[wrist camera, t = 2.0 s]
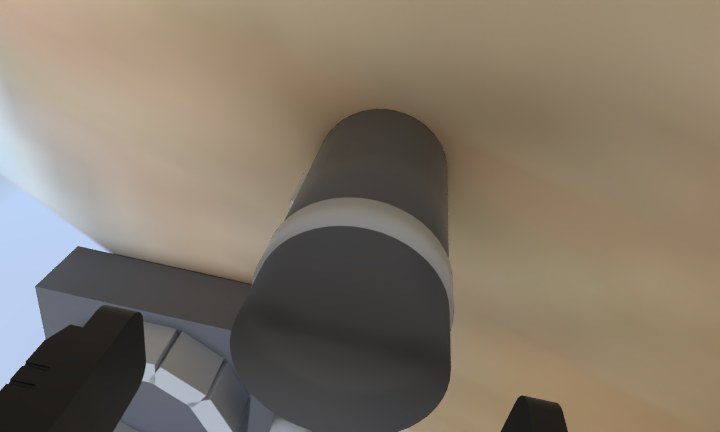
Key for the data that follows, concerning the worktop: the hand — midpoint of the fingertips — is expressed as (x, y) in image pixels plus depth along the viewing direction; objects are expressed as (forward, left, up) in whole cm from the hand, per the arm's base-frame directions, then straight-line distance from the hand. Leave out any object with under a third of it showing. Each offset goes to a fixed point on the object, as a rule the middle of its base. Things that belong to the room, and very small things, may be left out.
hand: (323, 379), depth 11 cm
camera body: (+6, +12, -11) cm, 17 cm away
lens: (0, 0, -11) cm, 11 cm away
